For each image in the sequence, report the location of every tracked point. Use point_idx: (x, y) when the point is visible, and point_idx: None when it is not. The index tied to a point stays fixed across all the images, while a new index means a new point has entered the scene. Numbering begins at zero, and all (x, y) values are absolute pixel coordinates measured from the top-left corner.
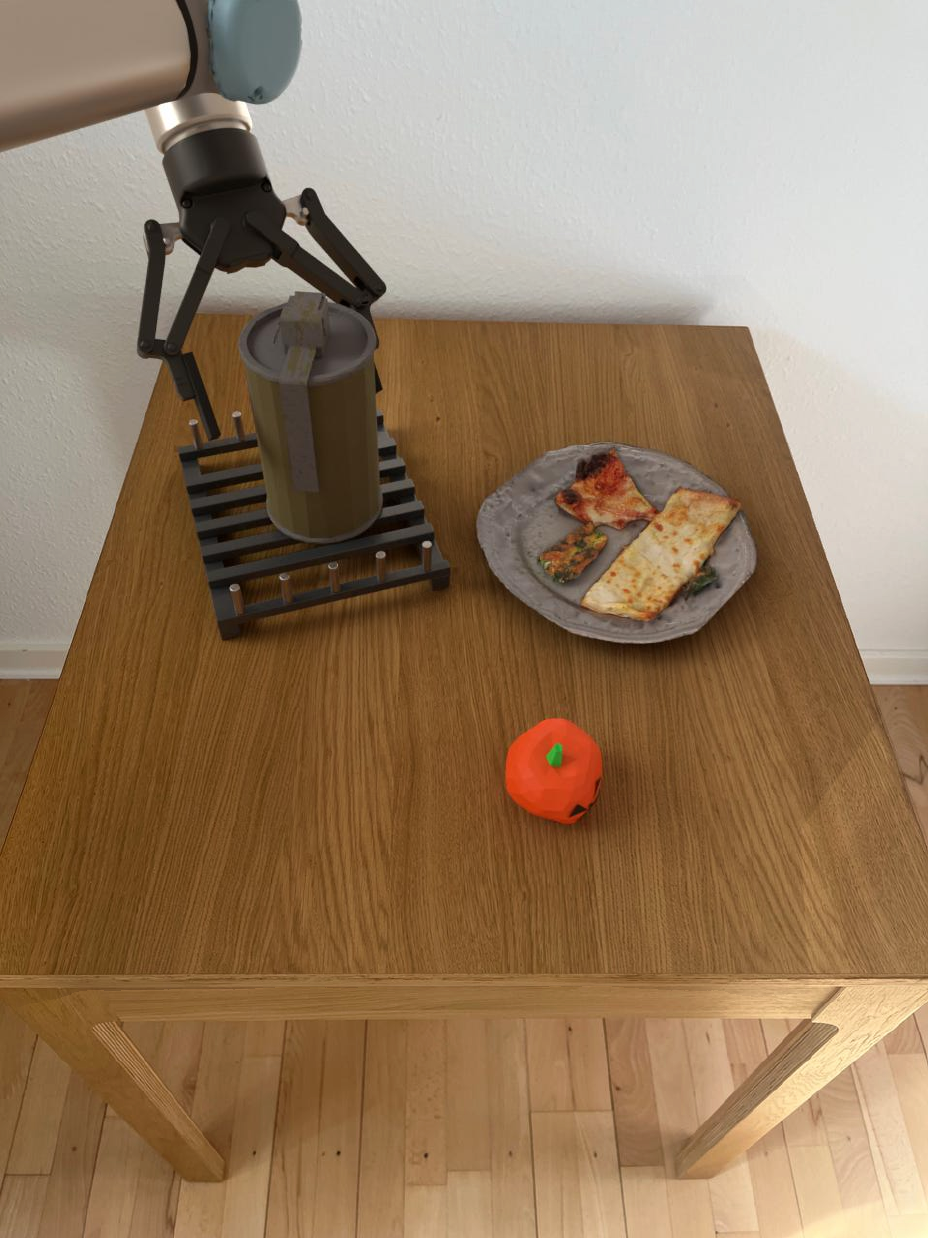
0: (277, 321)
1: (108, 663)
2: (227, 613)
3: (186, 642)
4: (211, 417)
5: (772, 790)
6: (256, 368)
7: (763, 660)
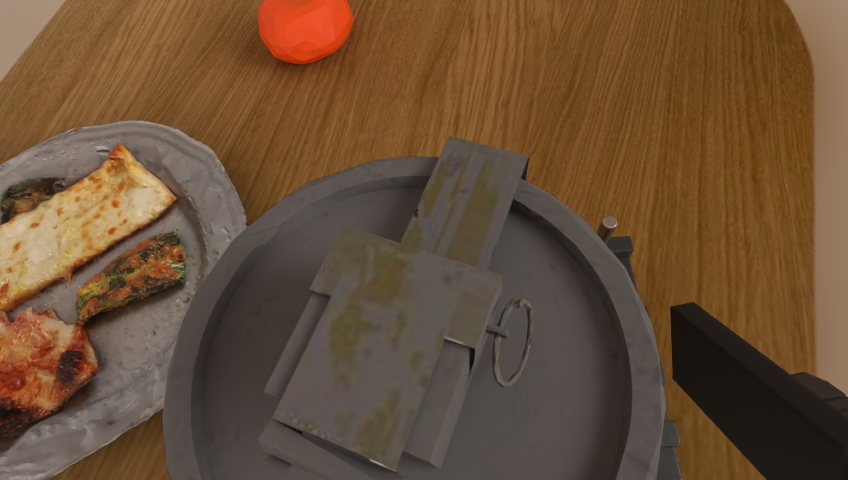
0: None
1: (769, 250)
2: (615, 245)
3: (667, 261)
4: (704, 327)
5: (145, 20)
6: (595, 236)
7: (52, 120)
